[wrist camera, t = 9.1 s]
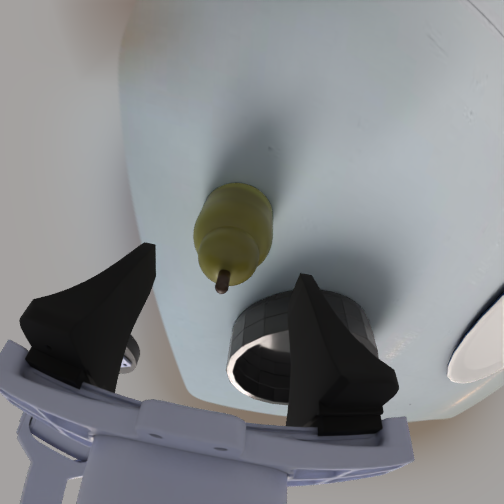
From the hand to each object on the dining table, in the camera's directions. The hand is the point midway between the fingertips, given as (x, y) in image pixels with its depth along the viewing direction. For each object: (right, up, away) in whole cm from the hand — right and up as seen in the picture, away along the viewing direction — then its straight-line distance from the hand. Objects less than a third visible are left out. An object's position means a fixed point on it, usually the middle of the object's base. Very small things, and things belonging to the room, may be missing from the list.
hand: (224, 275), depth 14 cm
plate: (+38, -9, +11) cm, 41 cm away
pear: (0, +4, +5) cm, 6 cm away
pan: (+6, -7, +12) cm, 15 cm away
